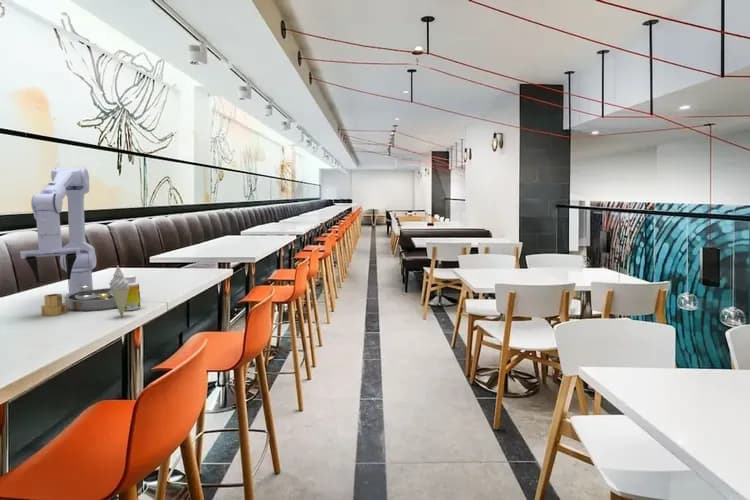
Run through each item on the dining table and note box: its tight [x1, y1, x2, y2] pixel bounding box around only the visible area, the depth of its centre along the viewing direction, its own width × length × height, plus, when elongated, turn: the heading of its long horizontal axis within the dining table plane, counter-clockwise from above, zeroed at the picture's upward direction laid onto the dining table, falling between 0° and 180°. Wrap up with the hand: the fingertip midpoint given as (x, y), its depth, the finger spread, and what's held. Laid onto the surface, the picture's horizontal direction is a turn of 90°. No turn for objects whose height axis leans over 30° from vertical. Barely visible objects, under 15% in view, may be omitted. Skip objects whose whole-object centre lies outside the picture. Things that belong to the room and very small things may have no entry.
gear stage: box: [64, 284, 141, 312], centre depth 159 cm, size 21×21×6 cm
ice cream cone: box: [108, 264, 129, 317], centre depth 142 cm, size 5×5×15 cm
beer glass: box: [124, 274, 141, 312], centre depth 151 cm, size 6×6×10 cm
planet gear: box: [40, 293, 68, 317], centre depth 147 cm, size 6×6×6 cm
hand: (53, 280), depth 146 cm, fingers open, 7 cm apart
